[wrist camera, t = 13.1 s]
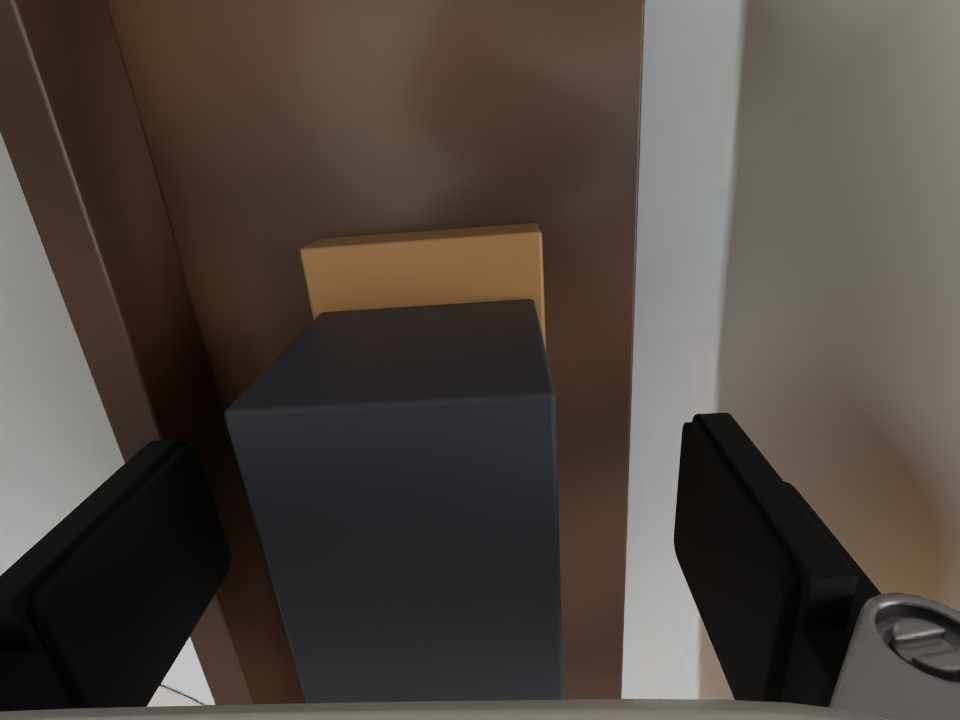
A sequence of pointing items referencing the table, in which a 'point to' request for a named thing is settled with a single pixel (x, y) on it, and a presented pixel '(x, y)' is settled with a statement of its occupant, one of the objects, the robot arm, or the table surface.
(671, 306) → the table surface
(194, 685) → the table surface
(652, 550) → the table surface
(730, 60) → the table surface
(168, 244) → the book shelf
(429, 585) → the black and tan block
